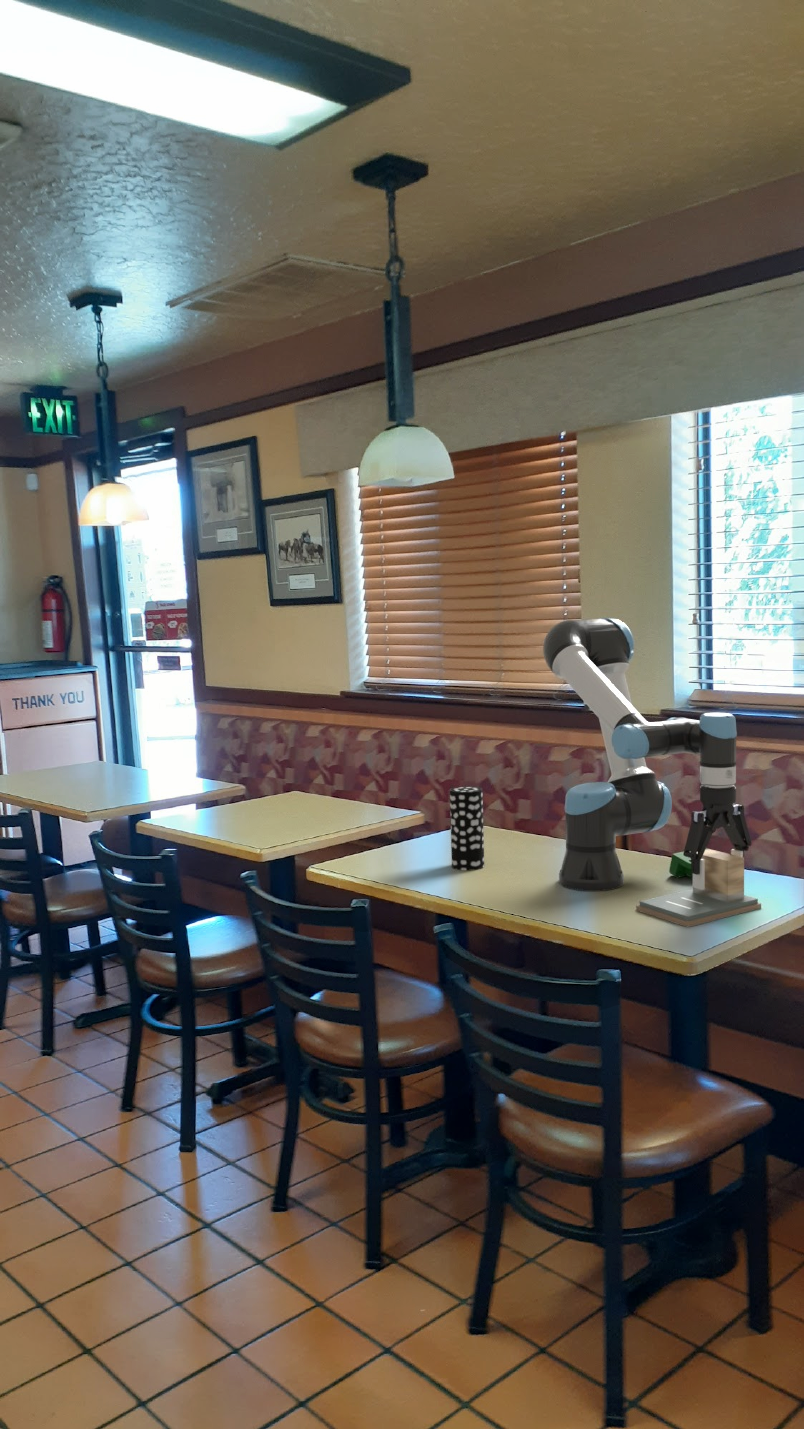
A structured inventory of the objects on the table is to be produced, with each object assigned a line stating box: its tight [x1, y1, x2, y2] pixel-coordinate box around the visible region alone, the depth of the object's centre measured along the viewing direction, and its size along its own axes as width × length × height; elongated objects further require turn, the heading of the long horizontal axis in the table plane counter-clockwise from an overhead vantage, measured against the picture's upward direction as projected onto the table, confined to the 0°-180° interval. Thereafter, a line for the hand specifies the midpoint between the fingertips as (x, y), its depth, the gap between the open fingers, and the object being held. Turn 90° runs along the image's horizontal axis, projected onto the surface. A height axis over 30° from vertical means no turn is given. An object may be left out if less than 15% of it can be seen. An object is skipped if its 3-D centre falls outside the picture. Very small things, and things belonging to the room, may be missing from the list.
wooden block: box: [692, 848, 745, 902], centre depth 234 cm, size 10×5×9 cm, turn 31°
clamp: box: [668, 847, 708, 879], centre depth 258 cm, size 12×6×9 cm, turn 117°
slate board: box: [635, 888, 762, 928], centre depth 231 cm, size 15×22×2 cm
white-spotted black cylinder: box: [449, 786, 485, 872], centre depth 273 cm, size 8×8×20 cm
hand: (718, 883), depth 234 cm, fingers open, 11 cm apart
